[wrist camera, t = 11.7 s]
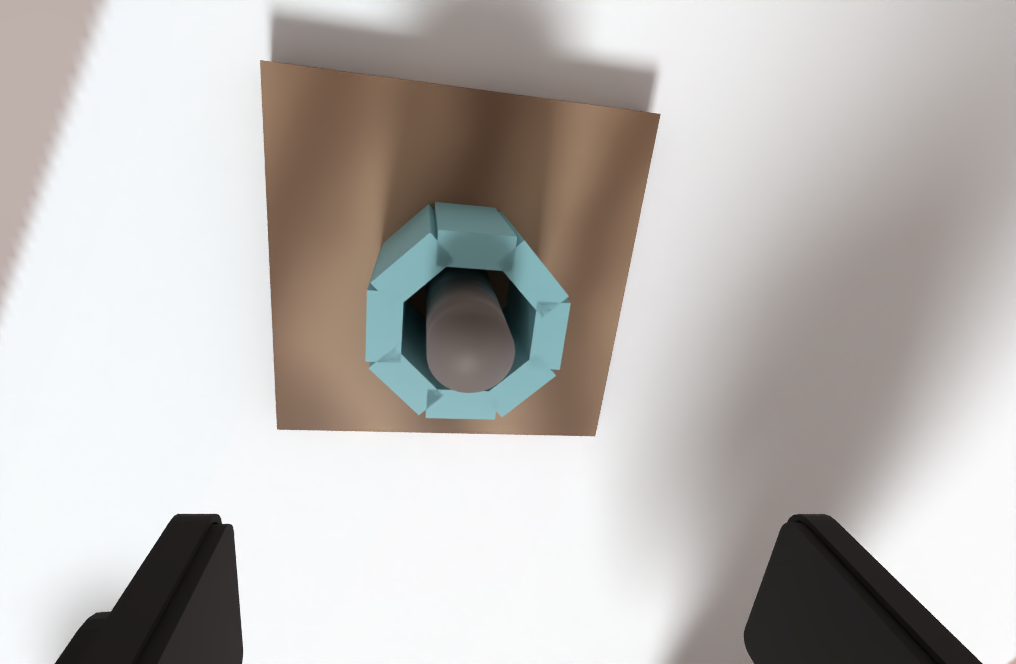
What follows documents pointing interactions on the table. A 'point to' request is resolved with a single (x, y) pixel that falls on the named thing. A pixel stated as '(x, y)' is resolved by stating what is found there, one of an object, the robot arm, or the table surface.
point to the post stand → (453, 291)
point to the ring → (402, 329)
